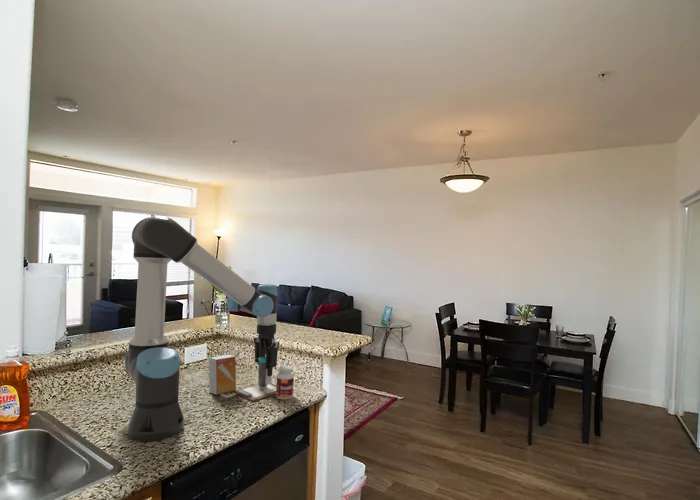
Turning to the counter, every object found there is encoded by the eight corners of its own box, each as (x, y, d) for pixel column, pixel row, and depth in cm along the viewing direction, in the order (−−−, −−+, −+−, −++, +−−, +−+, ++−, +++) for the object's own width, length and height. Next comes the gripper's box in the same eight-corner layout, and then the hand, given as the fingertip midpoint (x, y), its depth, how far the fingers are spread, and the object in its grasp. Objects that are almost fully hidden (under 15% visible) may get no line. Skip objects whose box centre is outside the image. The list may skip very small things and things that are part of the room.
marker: (263, 390, 152) (264, 359, 152) (256, 388, 153) (256, 358, 153) (269, 387, 155) (270, 357, 155) (261, 386, 157) (262, 355, 157)
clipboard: (252, 401, 142) (252, 398, 142) (232, 392, 150) (232, 388, 150) (286, 390, 154) (286, 387, 154) (265, 382, 163) (266, 379, 163)
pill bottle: (279, 401, 143) (280, 371, 143) (273, 395, 149) (274, 366, 149) (295, 398, 147) (296, 369, 147) (289, 393, 152) (289, 364, 152)
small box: (216, 395, 145) (215, 359, 146) (209, 392, 150) (208, 357, 151) (236, 390, 151) (235, 355, 152) (228, 387, 156) (228, 354, 157)
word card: (226, 397, 145) (226, 396, 145) (218, 394, 148) (218, 393, 148) (242, 392, 150) (242, 391, 150) (234, 389, 154) (234, 388, 154)
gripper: (287, 325, 153) (285, 385, 153) (261, 319, 163) (260, 375, 163) (272, 327, 147) (270, 390, 147) (246, 321, 158) (244, 380, 158)
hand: (265, 382), depth 155 cm, fingers closed on marker, 3 cm apart
